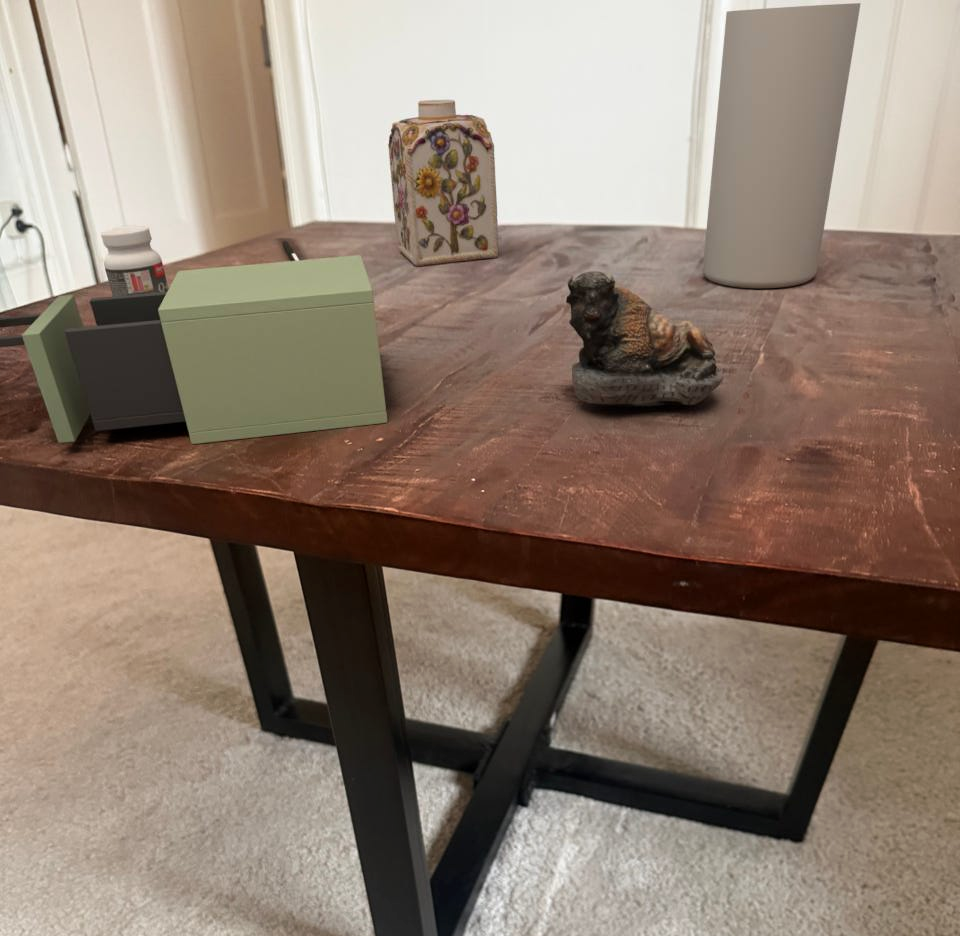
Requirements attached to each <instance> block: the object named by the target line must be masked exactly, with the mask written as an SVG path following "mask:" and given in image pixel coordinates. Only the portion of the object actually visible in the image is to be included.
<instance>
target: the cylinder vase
mask: <svg viewBox="0 0 960 936" xmlns="http://www.w3.org/2000/svg"><path fill="white" fill-rule="evenodd" d="M860 10H861V3H860V2H856V3H837V4H836V3H835V4H833V3H832V4H817V5H800V6H785V7H768V8H754V9H753V8H751V9H740V10H738V9H737V10H728V11H726V13H725V23H724V37H723V45H722V46H723V47H722V56H721V68H720V80H719V89H718V90H719V91H718V100H717V113H716V120H715V121H716V124H715V131H714V132H715V134H714V143H713V154H712V155H713V156H712V165H711V166H712V167H711V177H710V185H709V186H710V189H709V196H708V197H709V198H708V210H707V221H706V231H705V240H704V241H705V242H704V250H703V251H704V253H703V262H702V264H703V265H702V273H703V275H704V277H705V278H706V279H707V280H709V281H710V282H712V283H715V284H718V285H722V286H725V287H733V288H741V289H780V288H781V289H782V288H787V287H794V286H798V285H802V284H804V283H807V282H809V281H811V280H812V279H813V278H814V277H815V276H816V274H817V272H818V267H819V261H820V257H821V249H822V243H823V237H824V231H825V224H826V220H827V219H826V218H827V213H828V208H829V207H828V206H829V200H830V195H831V189H832V181H833V176H834V168H835V165H836V164H835V163H836V158H837V150H838V145H839V138H840V134H841V133H840V132H841V127H842V126H841V125H842V120H843V114H844V108H845V102H846V96H847V90H848V85H849V78H850V70H851V65H852V59H853V52H854V47H855V40H856V35H857V28H858V22H859V16H860Z"/></svg>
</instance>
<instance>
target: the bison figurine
mask: <svg viewBox="0 0 960 936" xmlns="http://www.w3.org/2000/svg"><path fill="white" fill-rule="evenodd" d="M567 287H568V290H569V294H568V295H567V296H566V300H565V303H566V304H569V305H570V319H569V321H568V323H569V325H570V326H571V327H572V328H573V330H574V331H575V332H576V334H577V335H578V336H579V338H581V341H582V346H583V347H581V348H580V350H579V352H578V360H579V362H574V363H573V364H572V365H571V381H572V385H573V390H574V395H575V396H576V398H577V399H578V400H579V401H581V402H584V403H586V404H590V405H596V406H614V407H615V406H616V407H617V406H618V407H637V408H638V407H641V408H642V407H663V406H665V407H666V406H667V407H668V406H694V405H697V404H698V403H700V402H702V401H703V400H704V399H706V398H707V397H708V396H709V395H711V394H712V393H713V392H715V390H716V389H717V388H718V387H719V386H720V384H722V382H723V380H724V376H723V374H722V373H721V372H719V371H718V370H717V369H718V366H717V364H716V362H717V361H716V358H715V355H716V351H715V349H714V347H713V342H712V341H711V340H709V337H708V335H707V334H706V332H705V330H703V329H701V328H699V327H697V326H695V325H694V324H693V322H691V321H689V320H683V321H676V320H675V321H674V320H671V319H670V318H668V317H667V316H666V315H665V314H662V313H661V312H659V311H658V310H656V309H654V308H653V307H652V306H651V305H649V304H648V303H647V302H646V301H645V300H644V299H642V298H641V297H640V296H638V295H637V294H636V293H634V292H632V291H631V290H629V289H626V288H623V287H622V286H619V285H616V280H615V278H614V276H613V274H610V278H609V277H608V276H607V275H606V274H605V273H604V272H602V271H595V270H591V271H585V272H582V273H581V274H579V275H578V276H577V277H575V278H574V275H570V276H569V278H568V279H567Z"/></svg>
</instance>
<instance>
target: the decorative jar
mask: <svg viewBox="0 0 960 936" xmlns="http://www.w3.org/2000/svg"><path fill="white" fill-rule="evenodd" d="M417 104H418V105H417V109H418V111H417V113H418V116H417V117H416V116H415V117H410V118H405V119H401V120H399V121H396V122H395V121H394V122H393V123H392V125H391V128H390V135H389V137H388V144H387V146H388V157H389V169H390V180H391V181H390V182H391V191H392V203H393V215H394V222H395V224H394V225H395V231H396V232H395V233H396V240H397V241H396V243H397V247H398V251H399V252H400V253H401V254H402V256H404V257H405V258H406V259H407V260H409V261H410V262H412V264H413V265H414V266H415V267H422V266H423V267H424V266H432V265H441V264H449V263H458V262H459V263H460V262H467V261H476V260H485V259H494V258H495V259H496V258H498V256H499V227H498V226H499V225H498V201H497V200H498V199H497V198H498V197H497V183H496V163H495V162H496V161H495V159H496V158H495V144H494V141H493V138H492V135H491V132H490V131H489V129H488V127H487V123H486V121H485V119H484V118H482V117H480V116H477V115H473V114H457V112H456V101H455V100H454V99H425V100H419V101H418V103H417Z"/></svg>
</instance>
